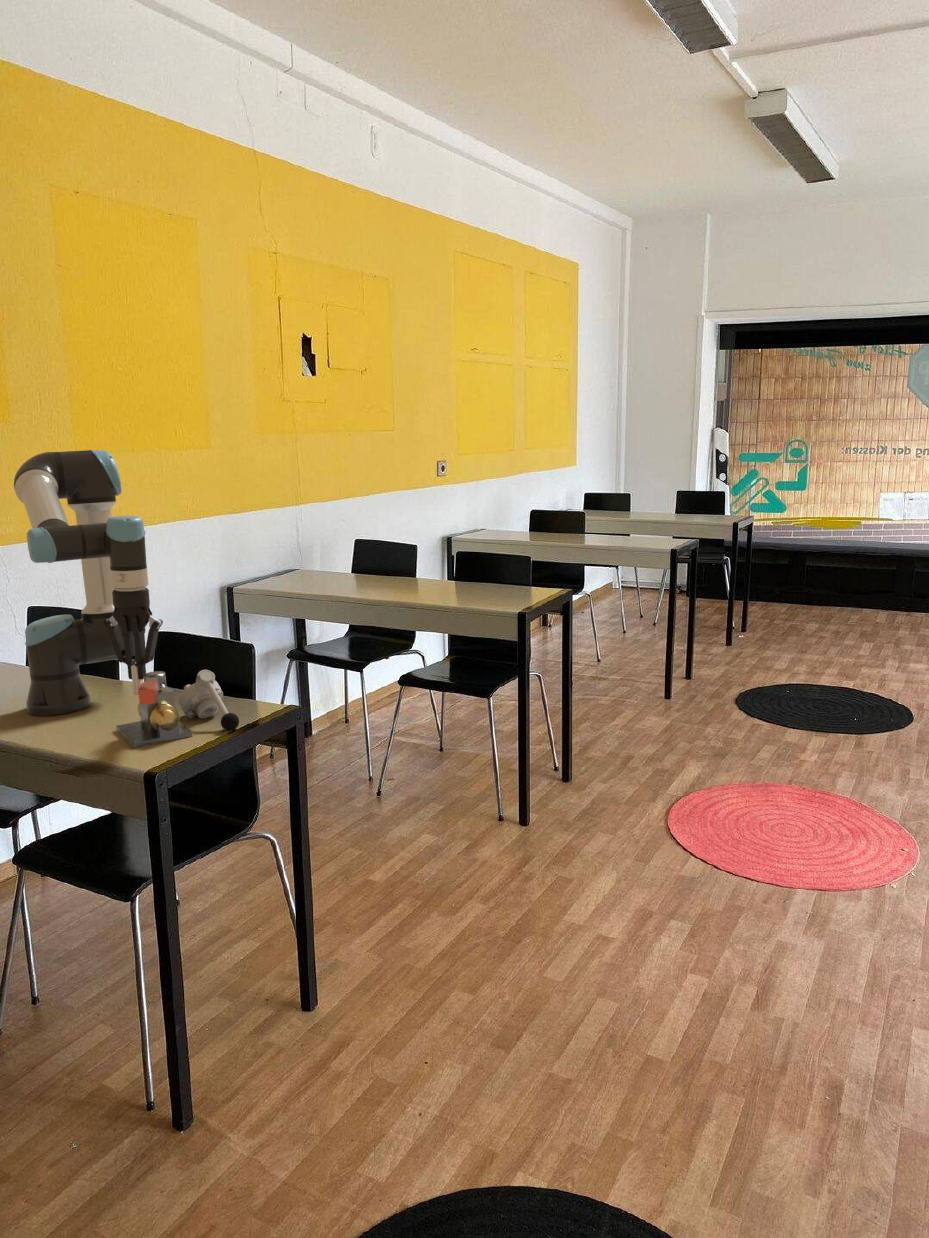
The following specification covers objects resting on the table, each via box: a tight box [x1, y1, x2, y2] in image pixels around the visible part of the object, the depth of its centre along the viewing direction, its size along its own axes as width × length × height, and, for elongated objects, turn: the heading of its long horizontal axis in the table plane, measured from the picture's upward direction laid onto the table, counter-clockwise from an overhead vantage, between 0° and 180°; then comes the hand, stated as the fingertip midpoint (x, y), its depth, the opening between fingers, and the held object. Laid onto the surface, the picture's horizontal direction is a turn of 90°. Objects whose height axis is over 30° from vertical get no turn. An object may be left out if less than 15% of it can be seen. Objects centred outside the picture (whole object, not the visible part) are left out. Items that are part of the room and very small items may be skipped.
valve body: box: [115, 685, 193, 749], centre depth 216 cm, size 16×13×11 cm
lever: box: [138, 670, 167, 704], centre depth 210 cm, size 5×16×3 cm, turn 11°
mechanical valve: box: [177, 669, 240, 732], centre depth 225 cm, size 10×18×15 cm
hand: (138, 693), depth 207 cm, fingers closed
